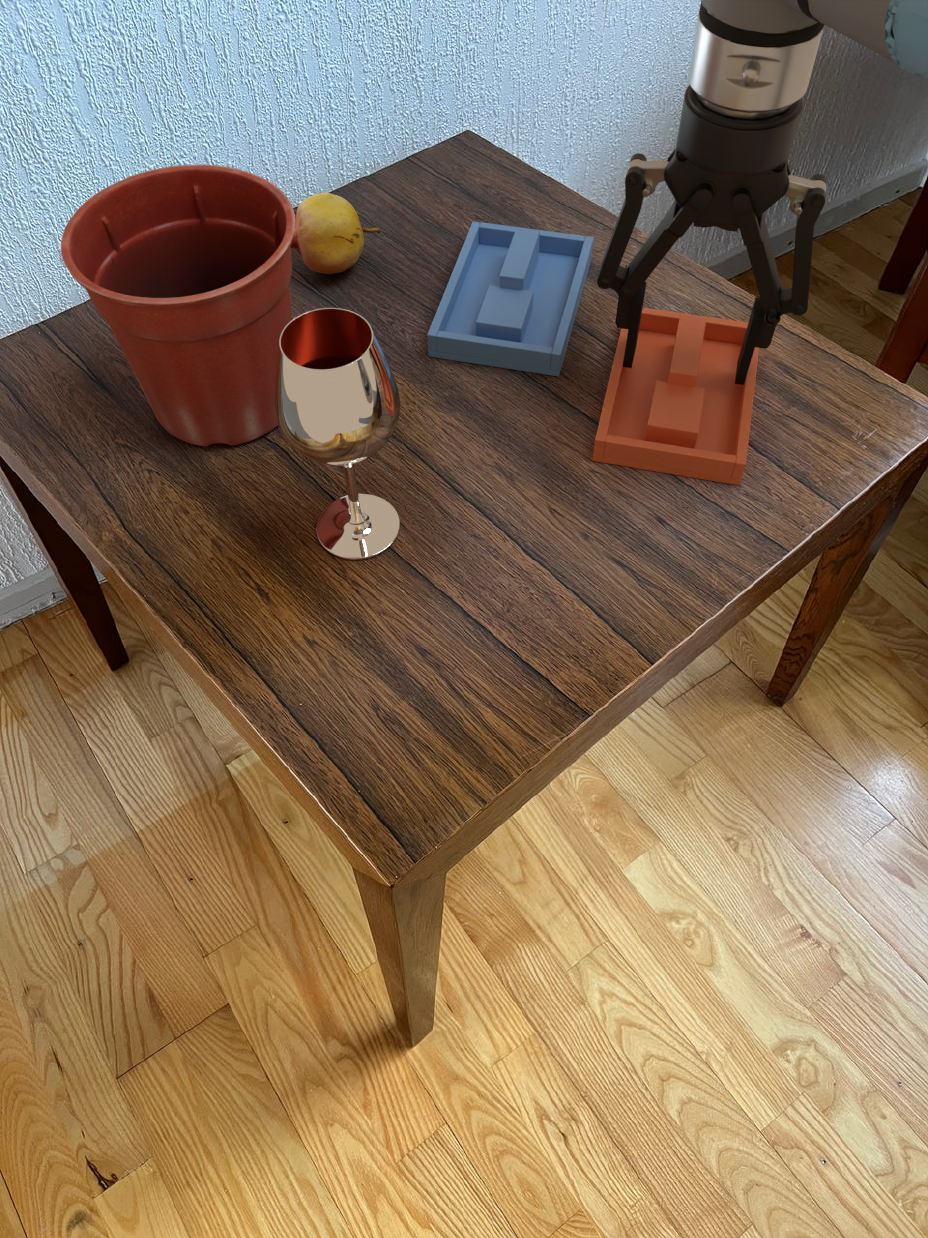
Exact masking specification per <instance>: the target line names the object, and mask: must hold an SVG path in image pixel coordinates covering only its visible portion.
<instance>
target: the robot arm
mask: <svg viewBox="0 0 928 1238" xmlns="http://www.w3.org/2000/svg"><path fill="white" fill-rule="evenodd" d="M695 25H696V26H695V32H694V36H693V37H694V38H693V43H692V50H691V54H690V55H691V56H690V63H689V69H688V74H687V81H688V82H689V85H688V86H686V87H687V88H686V89H685V91H684V97H683V102H682V107H681V114H680V118H679V119H680V120H679V126H678V131H677V132H678V133H677V137H676V144H675V148H674V149H673V151H672V152H671V153H670V155H668V157H667V160H648V158H647V157H646V156H645V155H644V153H639V152H638V153H634V154H633V155H632V156H631V157H630V160H629V163H628V167H627V171H626V174H625V179H624V192H625V193H624V195H625V198H624V200H623V204H622V206H621V209H620V212H619V213H618V214H619V215H618V217H617V220H616V222H615V226H614V228H613V231H612V234H611V237H610V238H609V239H610V240H609V242H608V245H607V247H606V250H605V253H604V256H603V258H602V261H601V264H600V269H599V272H598V276H597V280H596V284H597V287H599V288H600V289H602V290H608V289H611V290H613V291H615V292H616V294H617V297H618V298H617V307H616V314H615V321H614V323H615V327H616V328H617V329H621V328H622V329H628V335H627V342H626V348H625V355H624V362H623V367H626V368H632V364H633V360H634V355H635V350H636V345H637V339H638V333H639V327H640V321H641V315H642V309H643V308H644V302H645V295H646V289H647V285H648V284H647V283H648V282H647V280H648V278H649V277H650V276H651V275H652V273H653V272H654V271H655V270H656V268H657V266H658V265H659V264H660V263H661V262H662V261H663V259H664V258H665V257H666V255H667V254H668V253H669V251H671V249H672V248H673V246H674V245H675V243H676V242H677V241H678V240H679V239H681V238H683V237H684V235H685V234H686V233H687V231H688V230H689V229H690V228H691V227H692V225H693V227H696V228H703V229H705V228H715V227H716V228H719V229H721V230H724V231H727V232H735V233H738V229H739V232H740V235H741V240H742V243H743V245H744V247H745V248H746V251H747V254H748V255H747V256H748V258H749V262H750V266H751V269H752V270H751V271H752V273H753V277H754V280H755V284H756V287H757V291H758V295H759V297H758V296H755V298H754V301H753V305H752V309H751V311H750V312H751V313H750V315H749V319H748V326H747V330H746V333H745V337H744V340H743V344H742V347H741V351H740V355H739V358H738V362H737V369H736V377H735V384H740V385H744V383H745V380H746V376H747V373H748V369H749V366H750V363H751V359H752V356H753V352H754V349H755V347H757V348H759V349H764V350H766V349H768V348H769V347H770V345H771V343H772V341H773V337H774V334H775V331H776V328H777V326H778V324H779V323H780V322H781V319H782V316H783V315H785V314H786V315H787V314H790V313H792V315H794V316H803V315H805V314H806V313H807V311H808V307H809V298H810V296H809V295H810V283H811V282H810V281H811V271H812V259H813V258H812V256H813V246H814V232H815V225H816V223H817V221H818V220H819V217H820V215H821V212H822V211H823V209H824V206H825V205H826V200H827V197H826V196H827V186H828V185H827V184H828V183H827V182H828V180H827V177H826V176H825V175H824V174H822V173H816V174H813V175H812V176H811V177H810V178H805V177H801V176H799V175H794V174H791V170H790V169H791V168H790V166H789V158H790V154H791V151H792V147H793V144H794V140H795V136H796V132H797V128H798V126H799V121H800V117H801V114H802V111H803V107H804V103H803V102H804V101H803V97H804V96H805V94H806V93H807V91H808V87H809V83H810V80H811V76H812V73H813V69H814V65H815V61H816V59H817V58H816V57H817V54H818V50H819V47H820V43H821V39H822V36H823V31H824V28H825V26H826V27H828V28H830V29H832V30H834V31H835V32H837V33H839V34H841V35H843V36H845V37H846V38H848V39H850V40H852V41H854V42H856V43H857V44H859V45H861V46H863V47H865V48H867V49H869V50H870V51H872V52H874V53H876V54H878V55H879V56H881V57H884V58H885V59H887V60H888V61H891V62H893V64H894V63H895V64H896V65H897V66H898V68H900V69H902V70H904V71H906V72H907V73H909V74H910V75H914V74H916V76H918V77H920V78H924V79H926V78H927V79H928V0H701V1H700V6H699V11H698V13H697V19H696V24H695ZM661 182H665V184H666V186H667V188H668V190H669V191H670V193H671V195H672V196H673V198H674V201H673V202H672V204H671V206H670V208H669V210H668V211H667V212H666V214H665V216H664V217H663V218H662V219H661V220H660V222H659V223H658V225H657V226H656V227H655V229H654V230H653V231H652V233H651V234H650V236H649V237H648V238H647V239H646V240H645V242H644V243H643V245H642V246H641V248H640V249H639V250H638V252H637V253H636V254H635V255H634V257H633V258H632V259H631V261H630V262H629V264H625V266H622V265H621V263H622V260H623V257H624V254H625V253H626V249H627V247H628V245H629V243H630V240H631V237H632V235H633V231H634V230H635V226H636V224H637V221H638V219H639V216H640V213H641V209H642V207H643V203H644V198H648V197H649V196H651V195H653V193H654V192H655V191H656V188H657V186H658V184H660V183H661ZM784 196H786V197H788V199H789V201H790V204H789V209H790V211H791V212H792V213H793V214H794V215H795V216H796V223H795V233H794V234H795V235H794V250H793V265H792V266H793V268H792V280H791V281H792V282H791V287H787V288H783V285H782V282H781V278H780V274H779V270H778V266H777V262H776V258H775V255H774V251H773V247H772V246H773V245H772V243H771V238H770V234H769V229H768V227H767V223H766V212H767V211H768V210H770V208H771V207H772V206H773V205H775V204H776V203H777V202H779V201H780V200H781V199H782V198H783V197H784Z"/></svg>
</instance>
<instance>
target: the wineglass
mask: <svg viewBox="0 0 928 1238" xmlns="http://www.w3.org/2000/svg"><path fill="white" fill-rule="evenodd" d="M274 407H275V415H276V419H277V423H278V426H277V427H278V428H279V430H280V433H281V434H282V436H283V437H284V439H285V441H287V443H289V445H290V446H291V447H292V448H293V449H294V450H296V451H297V452H298V453H299V454H301V455H302V456H304V457H305V458H307V459H309V460H311V461H314V462H316V463H320V464H322V465H327V466H335V467H339V466H340V467H342V470H343V475H344V476H343V477H344V482H345V487H346V492H347V495H345V496H342V497H340V498H337V499H336V500H334V501H332V502H331V503H329V504H328V505H327V506H325V508H324V509H323V510H322V512H321V513H320V515H319V516H318V519H317V522H316V529H315V530H316V532H315V533H316V536H317V539H318V542H319V544H320V545H321V546H322V548H324V550H325V551H326V552H327V553H329V554H331V555H333V556H334V557H337V558H340V559H343V560H349V561H362V560H367V559H371V558H375V557H377V556H379V555H381V554H383V553H384V552H386V551H387V550H388V549H389V548H391V546H392V545H393V544H394V543H395V542H396V540H397V538H398V536H399V533H400V530H401V529H400V528H401V521H400V517H399V514H398V511H397V510H396V508H395V507H394V506H393V505H392V504H391V503H390V502H389V501H388V500H385V499H384V498H382V497H380V496H378V495H374V494H368V493H359V489H358V482H357V478H356V470H355V465H356V464H358V463H361V462H364V461H366V460H367V459H369V458H371V457H372V456H374V455H376V454H377V453H378V452H379V451H381V450H382V449H383V447H385V445H386V444H387V443H388V442H389V440H390V439H391V437H392V436H393V434H394V433H395V430H396V429H397V426H398V423H399V419H400V414H401V397H400V392H399V388H398V384H397V381H396V379H395V376H394V374H393V371H392V369H391V366H390V364H389V361H388V360H387V357H386V355H385V353H384V350H383V349H382V346H381V345H380V342H379V340H378V338H377V336H376V334H375V331H374V330H373V328H372V326H371V323H370V322H369V321H368V320H367V319H366V318H365V317H364V316H362V315H360V314H358V313H357V312H355V311H352V310H349V309H345V308H340V307H339V308H338V307H323V308H316V309H312V310H308V311H305V312H304V313H302V314H300V315H298V316H296V317H294V318H292V321H290V322H289V323H288V324H287V325H286V327H285V328H284V329H283V331H282V333H281V335H280V340H279V348H278V357H277V366H276V376H275V390H274Z"/></svg>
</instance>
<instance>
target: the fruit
mask: <svg viewBox="0 0 928 1238" xmlns="http://www.w3.org/2000/svg"><path fill="white" fill-rule="evenodd" d="M364 233H369V234H375V233H376V234H380V233H381V229H380V228H379V227H372V228H368V227H362V225H361V221H360V217H359V215H358V213H357V211H356V209H355V208H354V207H353V205H352V204H351V203H350V202H349V201H348V200H347V199H345V198H344V197H342V196H339V195H336V194H334V193H331V192H320V193H319V192H318V193H316V194H313V195H311V196H309V197H307V198H305V199H304V200H302V201H301V202H300V203H299V205H298V206H297V210H296V213H295V232H294V237H293V240H292V243H291V249H297V250H298V251H299V253H300V256H301V258H302V261H303V263H304V264H305V266H307V268H309V270H311V271H312V272H315V273H317V274H318V273H319V274H324V275H331V274H338V273H342V272H344V271H347V270H348V269H350V268H351V267H353V266H354V265H355V264H356V263H357V262H358V260H359V259H360V257H361V254H362V253H363V250H364V246H365V236H364Z"/></svg>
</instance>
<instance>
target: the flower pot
mask: <svg viewBox="0 0 928 1238" xmlns="http://www.w3.org/2000/svg"><path fill="white" fill-rule="evenodd" d="M295 227H296V213H295V210H294V207H293V204H292V202H291V200H290V199H289V198H288V197H287V195H286V194H285V193H284V192H283V191H282V189H280V188H279V187H278V186H276V185H275V183H272V182H271V181H269V180H267V179H266V178H263V177H261V176H259V175H257V174H255V173H252V172H249V171H246V170H242V169H239V168H235V167H230V166H224V165H217V164H216V165H214V164H200V163H199V164H197V163H195V164H183V165H182V164H181V165H171V166H164V167H160V168H159V167H158V168H155V169H150V170H147V171H141V172H139V173H135V174H132V175H130V176H128V177H125V178H124V179H121V180H119V181H116V182H115V183H113V184H111V185H109V186H107V187H105V188H103V189H102V190H100V191H98V192H97V193H94V195H92V196H90V197H89V198H88V199H87V200H86V201H85V202H84V203H82V204H81V206H80V207H79V208H78V209H77V210H76V211H75V212H74V213H73V214H72V216H71V217H70V219H69V220H68V222H67V224H66V225H65V227H64V230H63V232H62V235H61V240H60V254H61V258H62V262H63V264H64V266H65V267H66V269H67V270H68V272H69V273H70V275H71V276H72V278H73V279H74V280H75V281H76V282H77V284H79V285H81V287H83V288H84V290H85V291H86V293H87V295H88V297H89V298H90V300H91V302H92V304H93V306H94V308H95V309H96V311H97V312H98V314H99V315H100V316H101V317H102V318H103V320H105V322H107V324H108V326H109V328H110V330H111V331H112V333H113V335H114V338H115V339H116V341H117V343H118V346H119V347H120V350H121V351H122V353H123V355H124V357H125V359H126V360H127V363H128V364H129V366H130V369H131V370H132V372H133V374H134V376H135V379H136V380H137V382H138V384H139V386H140V388H141V390H142V391H143V394H144V396H145V398H146V400H147V402H148V404H149V407H150V408H151V410H152V411H153V414H154V415H155V418H156V420H157V421H158V423H159V425H161V426H162V428H163V429H164V430H165V431H166V432H167V433H169V434H170V435H172V437H175V438H177V439H178V440H180V441H183V442H185V443H188V444H190V445H194V446H200V447H209V446H210V445H212V444H226V445H229V446H231V447H232V446H238V445H242V444H245V443H249V442H252V441H255V440H257V439H259V438H261V437H263V436H265V435H266V434H268V433H270V432H272V431H273V430H274V429H276V428H277V427H279V426H278V423H277V419H276V415H275V407H274V390H275V376H276V366H277V357H278V348H279V340H280V335H281V333H282V331H283V329H284V328H285V327H286V325H287V324H288V323H289V322H290V321H292V320H293V313H292V311H293V310H292V300H291V287H290V282H291V279H292V273H293V260H292V248H291V243H292V240H293V237H294V232H295Z"/></svg>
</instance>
